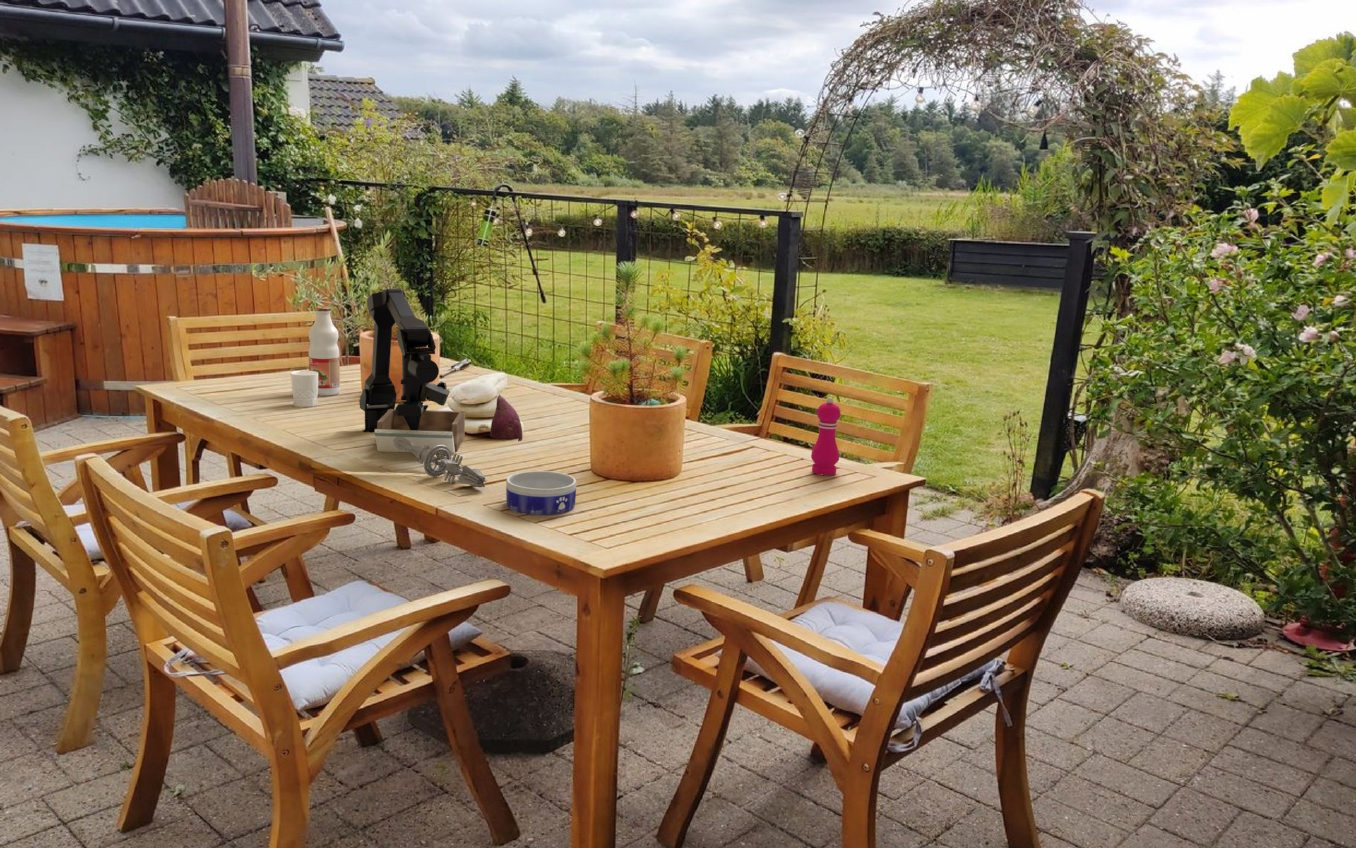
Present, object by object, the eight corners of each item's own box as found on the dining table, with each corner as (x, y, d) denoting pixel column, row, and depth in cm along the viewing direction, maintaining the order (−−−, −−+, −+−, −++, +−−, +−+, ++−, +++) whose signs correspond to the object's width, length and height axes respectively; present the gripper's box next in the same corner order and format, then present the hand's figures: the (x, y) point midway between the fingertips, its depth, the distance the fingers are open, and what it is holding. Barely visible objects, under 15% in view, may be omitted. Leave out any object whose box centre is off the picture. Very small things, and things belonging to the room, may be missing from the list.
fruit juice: (344, 394, 333) (342, 308, 327) (315, 397, 328) (312, 309, 322) (334, 389, 340) (332, 305, 334) (305, 391, 335) (303, 305, 329)
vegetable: (485, 448, 285) (471, 402, 283) (505, 438, 293) (492, 393, 290) (511, 445, 281) (498, 398, 278) (531, 435, 288) (518, 389, 286)
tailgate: (378, 452, 263) (374, 432, 258) (378, 448, 264) (375, 429, 258) (454, 454, 265) (452, 435, 259) (454, 451, 266) (452, 431, 260)
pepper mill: (820, 477, 263) (826, 400, 258) (804, 470, 269) (810, 395, 264) (843, 475, 266) (850, 399, 262) (827, 468, 272) (833, 393, 268)
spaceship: (411, 428, 258) (387, 420, 252) (502, 470, 237) (478, 463, 231) (399, 457, 258) (375, 450, 252) (490, 502, 237) (465, 496, 231)
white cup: (324, 405, 317) (323, 373, 314) (303, 408, 310) (302, 376, 308) (307, 401, 321) (306, 369, 319) (286, 404, 314) (285, 372, 312)
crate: (377, 452, 265) (377, 421, 263) (390, 437, 280) (389, 409, 278) (456, 454, 266) (456, 424, 265) (464, 440, 282) (464, 411, 280)
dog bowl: (546, 492, 238) (546, 466, 237) (589, 507, 228) (590, 481, 226) (491, 503, 227) (492, 477, 226) (535, 520, 217) (536, 493, 216)
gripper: (441, 384, 248) (442, 446, 252) (451, 367, 266) (452, 426, 270) (394, 382, 247) (395, 444, 251) (408, 366, 265) (409, 424, 269)
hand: (415, 434), depth 260 cm, fingers closed, pressing on tailgate
